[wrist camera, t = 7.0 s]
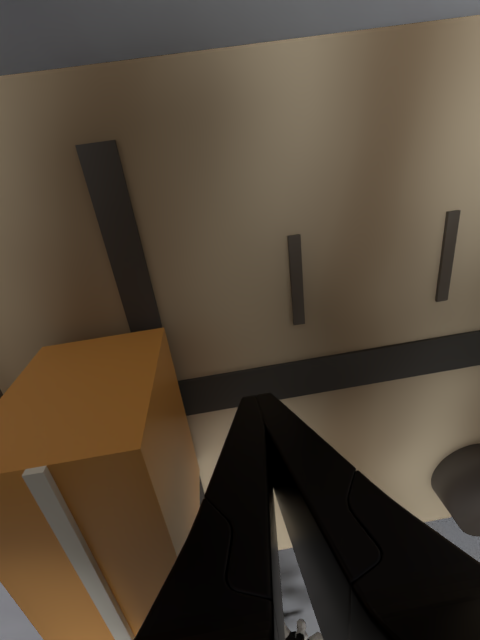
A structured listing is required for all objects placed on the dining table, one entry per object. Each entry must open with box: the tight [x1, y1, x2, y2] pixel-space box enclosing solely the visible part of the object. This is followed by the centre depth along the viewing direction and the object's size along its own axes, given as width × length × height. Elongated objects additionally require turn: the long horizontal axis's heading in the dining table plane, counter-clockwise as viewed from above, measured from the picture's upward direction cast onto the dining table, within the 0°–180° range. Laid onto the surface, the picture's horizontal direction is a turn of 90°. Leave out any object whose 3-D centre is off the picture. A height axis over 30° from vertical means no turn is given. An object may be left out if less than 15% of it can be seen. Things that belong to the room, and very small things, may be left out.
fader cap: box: [0, 327, 200, 640], centre depth 8 cm, size 3×5×4 cm, turn 7°
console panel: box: [0, 15, 480, 550], centre depth 11 cm, size 24×16×4 cm, turn 97°
